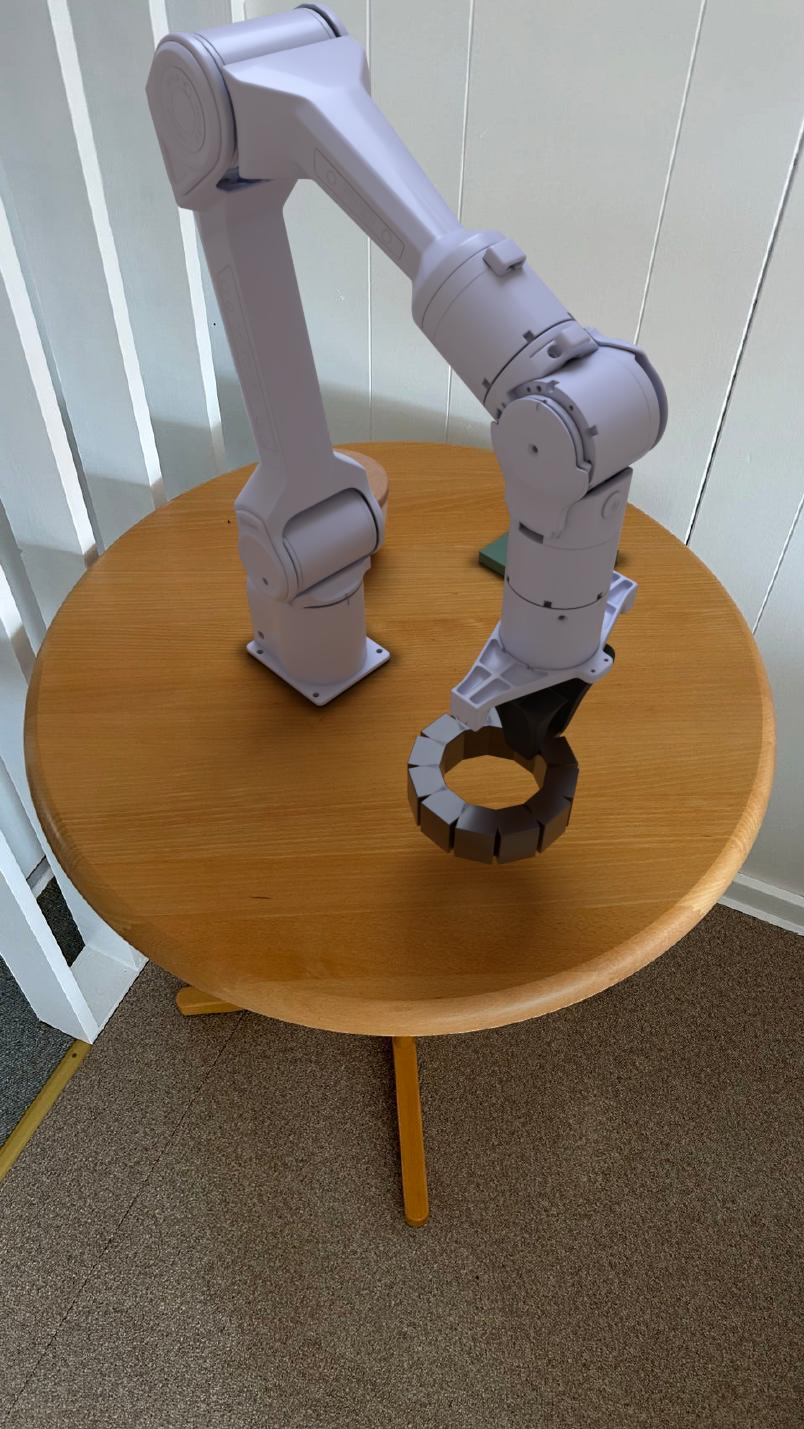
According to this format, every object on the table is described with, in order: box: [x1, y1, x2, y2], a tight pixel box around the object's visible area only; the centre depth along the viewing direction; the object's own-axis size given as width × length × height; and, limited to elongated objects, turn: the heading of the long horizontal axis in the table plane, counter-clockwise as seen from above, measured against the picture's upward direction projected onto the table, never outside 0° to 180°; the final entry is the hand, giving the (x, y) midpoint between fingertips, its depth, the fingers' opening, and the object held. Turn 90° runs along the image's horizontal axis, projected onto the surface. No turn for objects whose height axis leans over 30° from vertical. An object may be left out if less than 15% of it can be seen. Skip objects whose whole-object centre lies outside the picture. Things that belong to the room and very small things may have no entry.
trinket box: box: [333, 448, 390, 525], centre depth 86 cm, size 11×11×9 cm
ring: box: [406, 707, 580, 866], centre depth 61 cm, size 10×10×3 cm
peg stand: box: [478, 531, 620, 578], centre depth 87 cm, size 9×9×6 cm
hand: (534, 738), depth 62 cm, fingers closed on ring, 2 cm apart
